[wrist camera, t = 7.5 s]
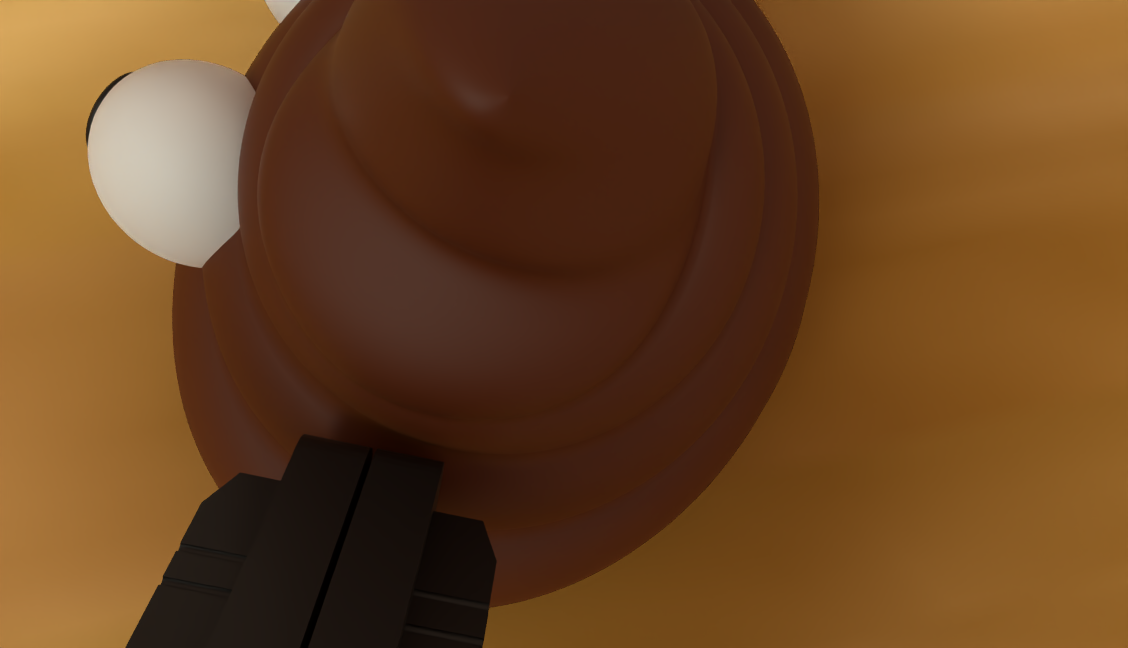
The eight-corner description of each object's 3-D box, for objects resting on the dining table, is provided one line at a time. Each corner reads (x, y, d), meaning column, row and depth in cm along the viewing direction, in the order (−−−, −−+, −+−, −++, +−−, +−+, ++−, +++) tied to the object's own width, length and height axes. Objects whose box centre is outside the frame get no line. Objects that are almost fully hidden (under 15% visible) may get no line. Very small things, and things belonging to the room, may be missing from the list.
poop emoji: (555, 719, 15) (702, 986, 6) (57, 403, 15) (-522, 207, 6) (873, 166, 17) (1329, -242, 8) (433, -104, 18) (409, -795, 8)
